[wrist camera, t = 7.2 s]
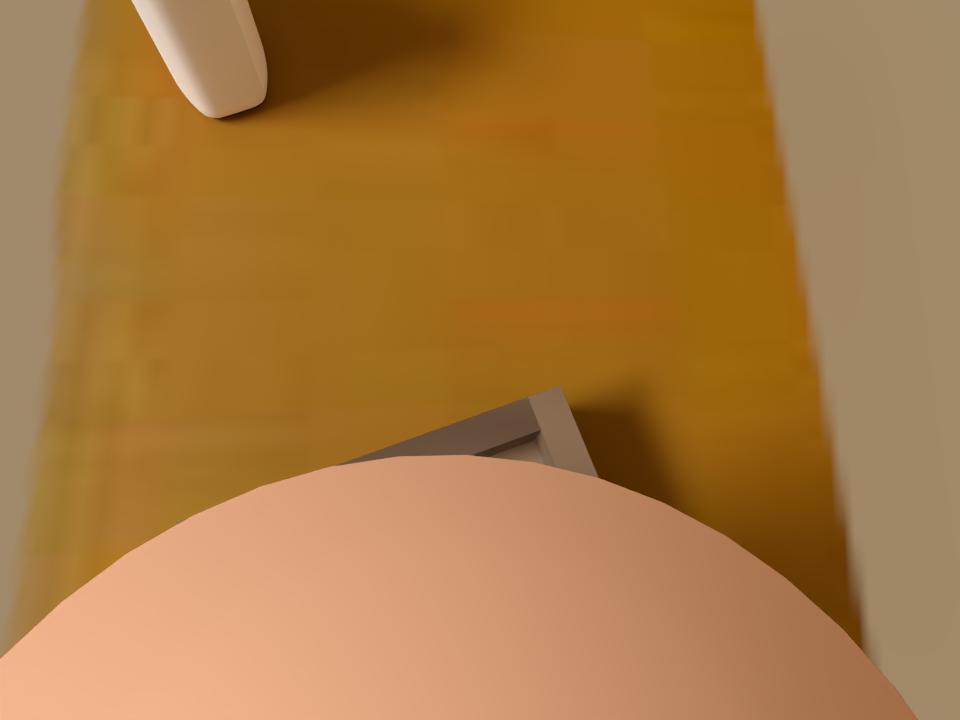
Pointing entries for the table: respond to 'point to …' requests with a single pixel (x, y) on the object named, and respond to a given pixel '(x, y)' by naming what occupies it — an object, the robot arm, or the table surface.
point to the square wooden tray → (506, 436)
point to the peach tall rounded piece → (441, 611)
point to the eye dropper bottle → (209, 51)
